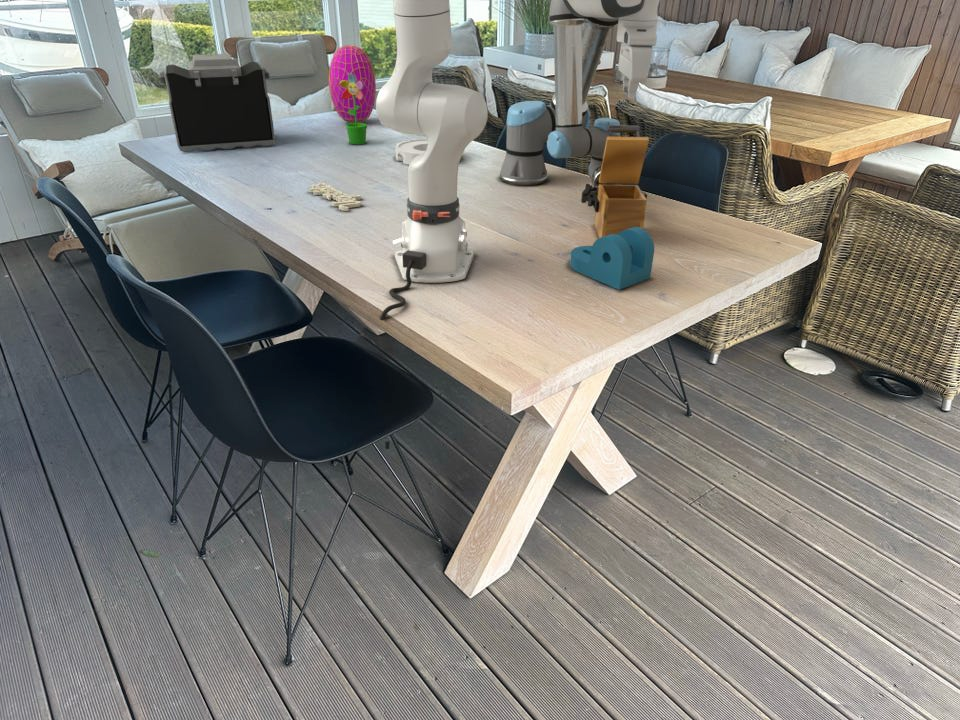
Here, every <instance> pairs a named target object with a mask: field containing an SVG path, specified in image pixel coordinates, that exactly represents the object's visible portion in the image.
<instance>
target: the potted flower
mask: <svg viewBox="0 0 960 720" xmlns="http://www.w3.org/2000/svg"><path fill="white" fill-rule="evenodd" d="M348 78H349V81H346V80H342V81H341V82H340V83H339V84H340V85H341V86H342V87H343V88H346V89H347V90H345V91H344V93H343V94H342V97H341V99H348V98H350V97H351V96H352V95H353V100H354V110H349V111H348V112H349V114H351V115H355V123H349V122H348V123H347V124H346V125H345V128H346V131H347V136H348V141H349V144H352V145H363V144H366V143H367V129H368V124H367V123H366V122H365V123H364V122H361V123H357V116H356V110H358V109H359V106H356V103H355V95H356V97H357V98H358V99H359V100H362V98H363V93H362V92H361V91H360V90H361V89H363V84H362V82H361V81H358V82H357V83H356V78H355V76H354V75H352V74H350V73H348Z"/></svg>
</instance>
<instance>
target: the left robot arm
mask: <svg viewBox="0 0 960 720" xmlns="http://www.w3.org/2000/svg"><path fill="white" fill-rule="evenodd" d="M563 1H564V3H565V5H566V7H567V9H568V10H569V11H570V12H571V13H572V14H573V15H575V16H577V17H596V18H607V19H616V18H619V20H618V25H617V30H616V31H617V32H616V42H617V43H621V44H620V49H619V56H618V65H617V69H618V71H619V72H620V73H621V74H622V75H623V76H622V78H623V79H622V82H623V83H622V84H623V89H622V94H623V95H625V96H626V98H627V99H628V100H635V99H636V98H637V92H638V88H639V85H640V83H645V82H646V81H647V79H648V77H649V72H650V68H651V62H652V58H653V52H654V50H653V49H654V48H653V47H656V45H657V43H658V42H657V40H658V35H657V28H658V21H659V20H658V19H659V15H658V8H659V7H658V6H659V4H660V1H661V0H563ZM392 6H393V17H394V24H395V25H394V26H395V38H396V39H395V40H396V61H395V65H394V69H393V71H392V74H391V76H390V78H389V79H388V81H386V83H384V84H383V85H382V86H381V88H380V89H379V91H378V92H377V95H376V98H375V112H376V116H377V118H378V120H379V122H380V124H382V126H383V127H385V128H387V129H390V130H393V131H395V132H397V133H401V134H403V135H405V134H406V135H412V136H420V137H426V139H428V145H427V150H426V152H423V153H421V154H419V155H418V156H416V157H415V158H414V159H413V160H412V161H411V162H410V164H409V165H408V168H407V184H408V186H407V187H408V198H407V199H406V211H407V213H406V214H407V217H406V218H405V219H404V220H403V221H402V223H401V231H402V237H399V238H397V239H395V240H392V244H393V245H395V244H398V243H401V244H400V247H401V249H400V250H397V251H395V252H394V259H395V262H396V264H397V267H398V269H399V272H400V274H401V277H402V279H403V280H405V281H406V284H405V285H404V286H402V287H393V288H390V290H389V295H390V297H392V298H394V299H396V300H398V301H400V302H398V303H397V302H396V303H394V304H391V305H388V306H387V307H385V308H384V309H383V310H382V312H381V314H380V317H379V320H380V321H384V320H385V319H386V317H387V315H388V314H389V312H391V311H393V310H396V309H399V308H403V307H404V306H405V305H406V303H407V302H406V301H407V300H406V299H405V297H403V296H402V295H399V294H397V293H400V292H404V291H407V290H409V289H410V288H411V286H412V282H414V283H431V284H433V283H435V284H437V283H451V282H457V281H461V280H464V279H466V277H467V274H468V273H469V269H470V267H471V265H472V262H473V260H474V257H475V251H473V250H471V249H468V245H469V243H468V242H467V241H466V238H467V236H468V232H467V231H466V221H465V220H464V219H463V218H461V216H460V208H461V207H460V206H461V205H460V198H459V197H458V175H459V166H460V161H461V159H460V158H462V155H463V154H464V152H465V150H466V148H467V147H468V146H469V144H470V143H472V141H474V140H476V139H477V138H478V137H479V136H480V135H481V134H482V133H483V131H484V130H485V127H486V126H487V123H488V116H489V113H488V111H489V110H488V105H487V101H486V100H485V98H484V96H483V94H481V92H479V91H477V90H474V89H472V88H468V87H465V86H463V85H459V84H457V85H456V84H455V85H454V84H446V83H436V82H434V81H433V70H434V68H436V67H437V66H438V65H440V64H441V63H443V62H444V61H446V60H447V59H448V57H449V56H450V53H451V51H452V48H453V37H452V23H451V10H450V0H392ZM384 444H385V445H384V446H385V450H389V449H391V446H390V440H387V441H385V442H384Z"/></svg>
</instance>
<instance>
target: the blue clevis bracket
mask: <svg viewBox="0 0 960 720" xmlns="http://www.w3.org/2000/svg"><path fill="white" fill-rule="evenodd" d="M654 255H655V244H654V240H653V238H652V236H651V235H650V234H649V232H648V231H647V230H646V229H644V228H643V229H642V228H640V227H633V228H629V229H626V230H623V231H621V232H620V233H619V234H618V235H617V234H610V235H607V236H604V237H601V238H599V237H598V238H597V239H595V241H594V242H593V243H592V245H581V246H577V247H575V248H572V249H571V251H570V257H569V258H570V259H569V266H570V268H571V269H572V270H573V271H575V272H577V273H579V274H582V275H584V276H586V277H588V278H591V279H593V280H595V281H598V282H600V283H603V284H605V285H607V286H609V287H611V288H613V289H616V290H619V291H620V290H622V289H626V288H627V287H630V286H633V285H636V284H638V283H640V282H643V281H646V280H648V279H651V277H652V269H653V262H654V257H655V256H654Z"/></svg>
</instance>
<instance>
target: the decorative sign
mask: <svg viewBox="0 0 960 720" xmlns="http://www.w3.org/2000/svg"><path fill="white" fill-rule="evenodd" d="M308 189H309V190H308V191H309V193H313V195H314V196H319V195H320V196H321V195H322V198H323V199H324V200H326V199H327V200H328V201H332V200H334V201H332V202H331V204H332V205H331V206H332V207H338V210H340V211H344V212H349V211H350V210H349V209H352V208H358V207H361V206H362V201H360V200H362V195H361V194H347V193H343V191H341V190H339V189H336V188H334V187H332V186H331V185H329V184H326V182H319V183H317V184H315V183H313V184H311V187H309V188H308Z"/></svg>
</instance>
